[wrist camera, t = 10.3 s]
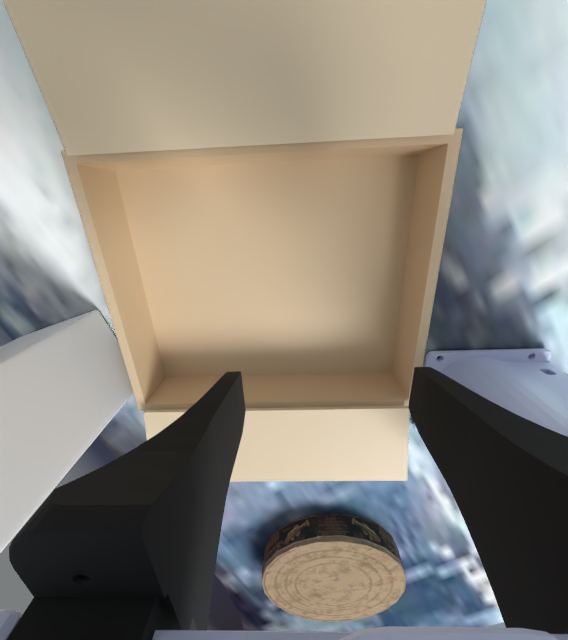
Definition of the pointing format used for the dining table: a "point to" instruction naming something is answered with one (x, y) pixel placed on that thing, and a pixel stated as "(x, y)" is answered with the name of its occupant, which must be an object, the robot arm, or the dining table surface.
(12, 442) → the milk carton
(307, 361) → the carton
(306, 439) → the back flap
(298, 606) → the wood log slice
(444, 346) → the dining table surface
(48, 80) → the front flap
